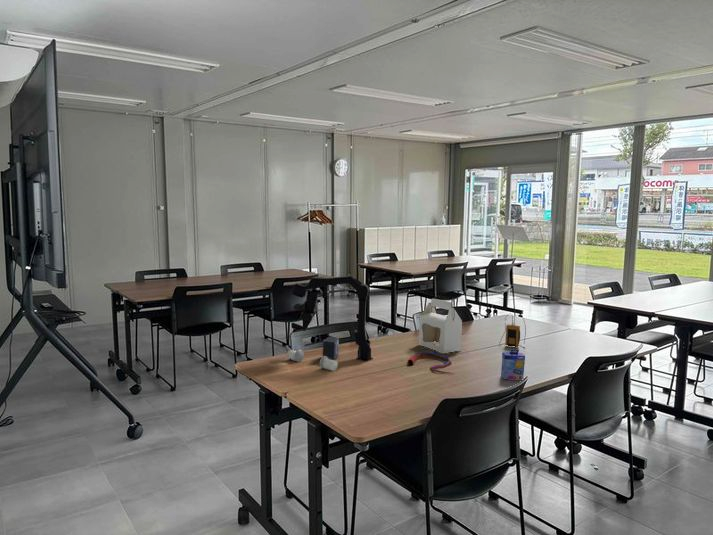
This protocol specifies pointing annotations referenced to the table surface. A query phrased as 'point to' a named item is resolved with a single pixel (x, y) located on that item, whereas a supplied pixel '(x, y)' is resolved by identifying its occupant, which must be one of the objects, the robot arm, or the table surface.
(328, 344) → the small box
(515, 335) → the multimeter
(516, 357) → the ink cartridge box
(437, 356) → the toy snake
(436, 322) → the gable box
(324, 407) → the table surface
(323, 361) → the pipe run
